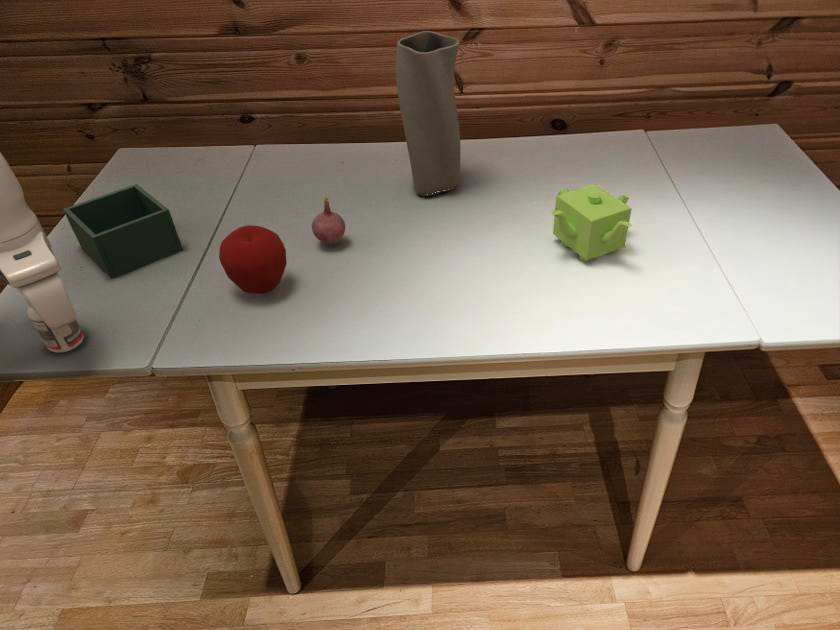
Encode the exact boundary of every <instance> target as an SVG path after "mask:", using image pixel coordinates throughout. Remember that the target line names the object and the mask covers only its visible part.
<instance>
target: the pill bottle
mask: <svg viewBox="0 0 840 630" xmlns="http://www.w3.org/2000/svg"><path fill="white" fill-rule="evenodd" d="M23 298H24V301H25V303H26V304H27V305H28V307H27V311H26V312H27V316H28V319H29V320H30V321H31V323H32V325H33V327H34V328H35V330H36V331H37V333H38V335H39V337H40V338H41V340H42V341H43V343H44V345H45V346H46V348H47V350H49V351H50V352H53V353H59V354H60V353H66V352H69V351H72V350H74V349H76V348H77V347H78V346H80V345H81V344H82V343H83V342H84V338H85V335H84V333H83V331H82V329H81V327H80V325H79V323H78V322H77V319H76V320H75V321H74V322H72V323H70V324H68V325H69V327H70V329H71V331H72V333H71V334H70V335H68V336H66V337H63V338H61V337H59V335H58V334H57V333H56V331H55V330H52V329H50V328H49V327H48V326H47V325H46V324H45V322H44V321H43V320H42V319H41V318H40V316H39V315H38V314H37V312H36V311H35V310H34V309H33V307H32V306H31V305H30V304H29V302H28V301H27V300H26V299H25V297H24V296H23Z"/></svg>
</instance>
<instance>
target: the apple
mask: <svg viewBox="0 0 840 630" xmlns="http://www.w3.org/2000/svg"><path fill="white" fill-rule="evenodd" d="M218 251H219V252H218V253H219V254H218V258H219V262H220V265H221V267H222V268H223V271H224V272H225V274H226V276H227V278H228V279H229V280H230V281H231V282H232V283H234V284H235V285H236V287H237V288H239V289H240V290H241V291H242V292H243V293H247V294H250V295H263V294H264V295H265V294H268V293H270V292H272V291H273V290H274V289H276V288H277V287H278V286H279V285H280V283H281V281H282V279H283V275H284V273H285V270H286V268H287V249H286V246H285V244H284V242H283V240H282V239H281V237H280V236H279V234H278V233H276V232H275V231H273V230H272V229H269V228H266V227H264V226H260V225H252V224H249V225H244V226H239V227H238V228H236V229H234V230H232V231H231V232H230V233H229V234H228V235H226V236H225V238H224V239H222V241H221V243H220V245H219V250H218Z"/></svg>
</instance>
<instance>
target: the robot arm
mask: <svg viewBox="0 0 840 630" xmlns="http://www.w3.org/2000/svg"><path fill="white" fill-rule="evenodd" d="M33 211H34V210H32V209H31V208H30V207H29V205H28V204H27V203H26V200H25V196H24V190H23V189H22V186H21V184H20V182H19V180H18V179H17V177H16V175H15V173H14V171H13V169H12V168H11V165H10V164H9V163H8V161H7V160H6V158H5V157H4V155H3V154H2V152H0V278H1V279H2V280H3V281H4V282H5V283H7V285H8V286H10V287H11V288H12V289H16V290H17V291H18V292H19V293H20V294H21V296H23V298H24V297H25V299H26V300H27V301H28V302H29V304H30V305H31V306H32V307H33V309H34V310H35V311H36V312H37V314H38V315H39V316H40V318H41V319H42V320H43V321H44V322H45V324H46V325H47V326H48V327H49V328H50V329H52V330H55V331H56V333H57V334H58V335H59V337H61V338H63V337H66V336H68V335H70V334H71V333H72V331H71V329H70V327H69V325H68V324H70V323H72V322H74V321H75V320H76V321H77V315H76V311H75V308H74V305H73V303H72V301H71V298H70V296H69V294H68V291H67V289H66V286H65V284H64V282H63V279H62V278H61V276H60V275H59V272H61V271H62V267H61V265H60V263H59V261H58V259H57V257H56V256H55V254H54V253H53V248H52V243H51V242H50V239H49V238H48V236H47V234H46V232H45V230H44V229H43V227H42V225H41V222H40V221H39V219H38V217H37V215H36V214H35V212H33ZM25 299H24V300H25Z"/></svg>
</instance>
